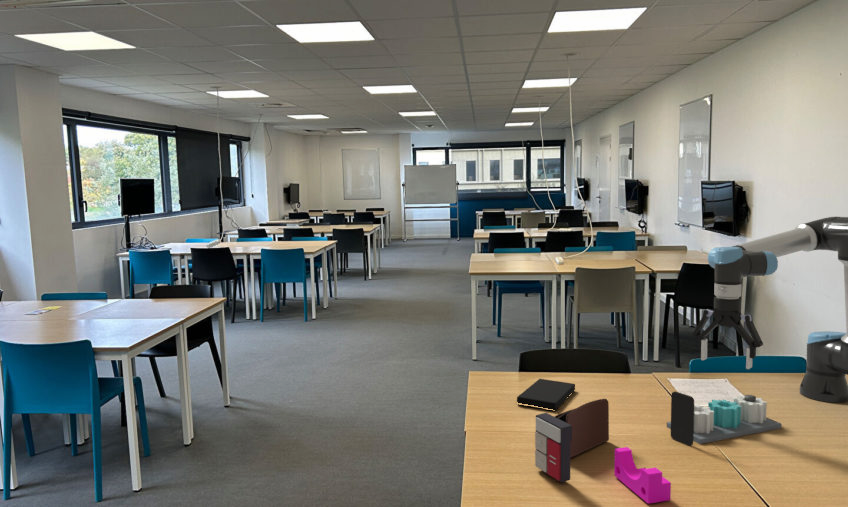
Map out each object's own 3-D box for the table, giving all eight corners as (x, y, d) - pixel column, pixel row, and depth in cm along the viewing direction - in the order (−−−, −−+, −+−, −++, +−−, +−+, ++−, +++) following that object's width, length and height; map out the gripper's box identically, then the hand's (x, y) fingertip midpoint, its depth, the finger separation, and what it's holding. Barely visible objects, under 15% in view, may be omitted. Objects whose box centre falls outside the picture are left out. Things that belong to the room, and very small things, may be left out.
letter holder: (609, 440, 182) (609, 396, 180) (568, 460, 170) (568, 412, 168) (582, 430, 190) (582, 387, 188) (541, 448, 177) (541, 403, 176)
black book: (516, 404, 214) (516, 396, 214) (539, 385, 234) (539, 378, 233) (555, 411, 207) (555, 403, 206) (575, 391, 226) (575, 383, 226)
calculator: (533, 467, 165) (533, 415, 164) (545, 463, 167) (545, 412, 166) (559, 484, 156) (559, 428, 154) (572, 480, 158) (572, 425, 156)
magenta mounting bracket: (670, 500, 147) (671, 471, 146) (648, 503, 145) (648, 474, 145) (635, 472, 161) (635, 445, 161) (614, 475, 160) (614, 448, 159)
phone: (670, 438, 182) (671, 390, 180) (671, 437, 182) (672, 390, 181) (691, 447, 176) (693, 397, 174) (693, 446, 176) (695, 397, 174)
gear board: (744, 412, 201) (745, 387, 200) (781, 428, 187) (782, 401, 186) (666, 426, 190) (667, 400, 190) (699, 444, 177) (700, 416, 176)
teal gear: (723, 415, 195) (724, 397, 194) (747, 425, 186) (747, 407, 185) (701, 419, 192) (701, 401, 191) (724, 430, 183) (724, 411, 182)
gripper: (682, 294, 191) (681, 358, 194) (766, 303, 173) (764, 374, 175) (692, 290, 196) (691, 353, 199) (776, 299, 178) (774, 369, 180)
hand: (725, 363), depth 187 cm, fingers open, 13 cm apart
